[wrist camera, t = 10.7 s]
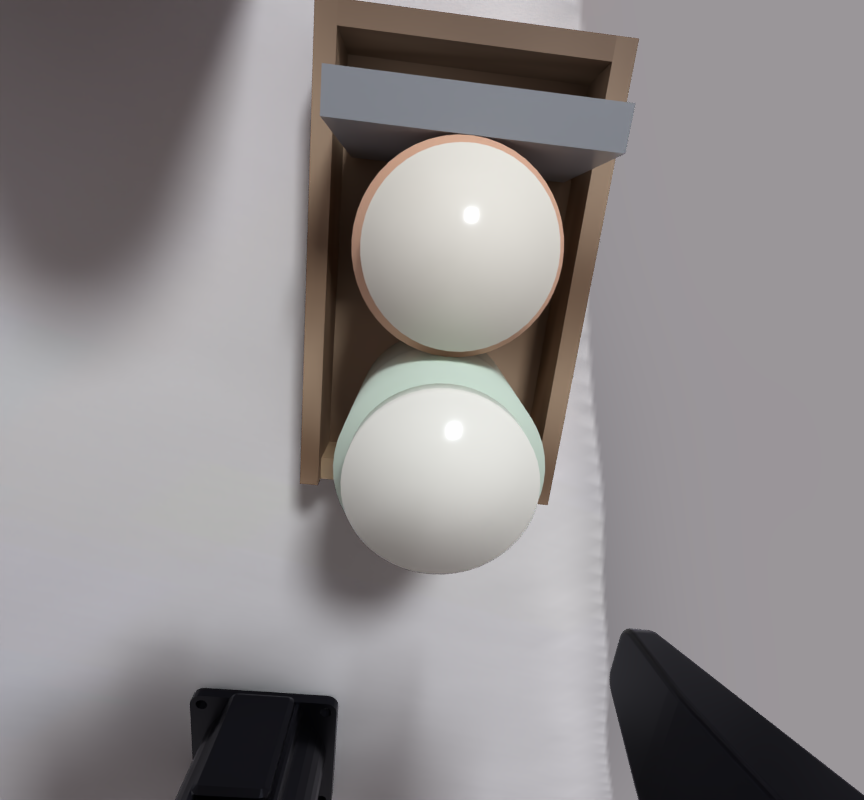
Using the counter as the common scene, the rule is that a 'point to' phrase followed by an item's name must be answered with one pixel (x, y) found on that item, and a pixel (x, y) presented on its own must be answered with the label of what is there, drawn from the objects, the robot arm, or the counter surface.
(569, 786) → the counter surface
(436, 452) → the sage jar
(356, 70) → the bar
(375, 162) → the wooden tray
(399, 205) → the terracotta jar
